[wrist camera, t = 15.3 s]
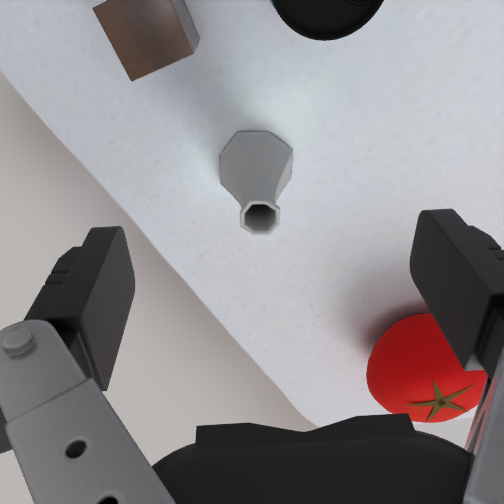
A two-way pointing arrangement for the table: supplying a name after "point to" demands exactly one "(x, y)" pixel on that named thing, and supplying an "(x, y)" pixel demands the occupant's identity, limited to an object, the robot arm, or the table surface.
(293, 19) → the beverage can
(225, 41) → the table surface
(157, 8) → the walnut block
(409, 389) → the tomato
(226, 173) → the flask
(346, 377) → the table surface
